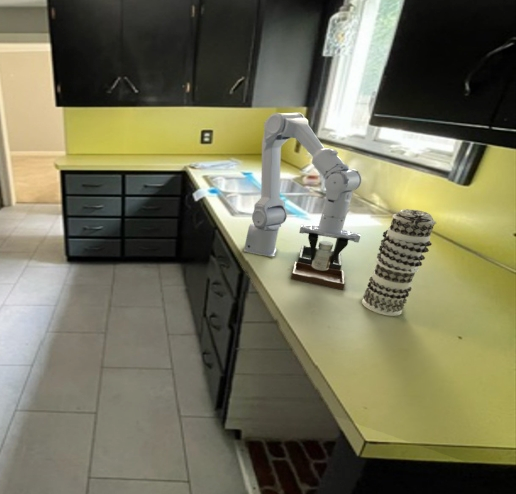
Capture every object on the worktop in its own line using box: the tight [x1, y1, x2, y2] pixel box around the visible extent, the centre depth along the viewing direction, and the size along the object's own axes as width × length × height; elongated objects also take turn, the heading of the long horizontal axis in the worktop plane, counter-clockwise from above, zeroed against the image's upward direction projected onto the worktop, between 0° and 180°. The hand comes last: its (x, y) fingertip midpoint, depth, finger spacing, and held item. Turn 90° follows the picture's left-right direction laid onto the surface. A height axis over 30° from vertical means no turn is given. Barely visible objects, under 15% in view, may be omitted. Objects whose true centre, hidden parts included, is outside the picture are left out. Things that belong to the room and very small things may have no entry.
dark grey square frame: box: [297, 244, 342, 270], centre depth 115 cm, size 11×11×3 cm
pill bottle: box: [312, 240, 334, 271], centre depth 103 cm, size 4×4×8 cm
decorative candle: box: [361, 208, 437, 317], centre depth 87 cm, size 9×9×25 cm
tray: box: [290, 261, 346, 291], centre depth 106 cm, size 13×9×2 cm
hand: (321, 260), depth 104 cm, fingers closed on pill bottle, 4 cm apart
